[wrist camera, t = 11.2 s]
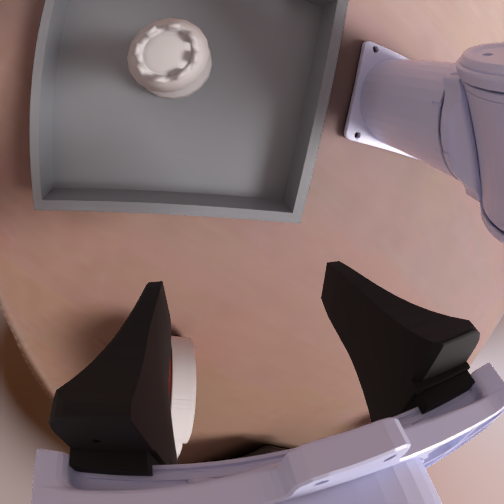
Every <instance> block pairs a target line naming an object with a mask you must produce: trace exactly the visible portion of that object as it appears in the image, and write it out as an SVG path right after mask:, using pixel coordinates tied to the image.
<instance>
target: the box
mask: <svg viewBox="0 0 504 504" xmlns="http://www.w3.org/2000/svg"><path fill="white" fill-rule="evenodd" d="M347 5H348V0H45V4H44V8H43V13H42V17H41V22H40V27H39V32H38V38H37V44H36V50H35V57H34V65H33V74H32V85H31V100H30V166H31V181H32V192H33V202H34V210H63V211H100V212H128V213H151V214H171V215H189V216H206V217H222V218H237V219H251V220H264V221H277V222H289V223H300V222H301V218H302V214H303V210H304V206H305V202H306V198H307V194H308V190H309V186H310V182H311V178H312V174H313V169H314V165H315V161H316V157H317V152H318V148H319V144H320V139H321V135H322V131H323V126H324V122H325V117H326V113H327V108H328V103H329V99H330V94H331V89H332V84H333V79H334V75H335V70H336V65H337V60H338V54H339V49H340V44H341V39H342V33H343V28H344V22H345V17H346V11H347ZM166 18H177V19H184V20H187V21H189V22H191V23H192V24H194V25H196V26H197V27H199V28H200V30H201V31H202V33H203V34H204V36H205V37H206V38H207V42H208V48H209V49H210V51H211V58H212V64H213V65H212V68H211V72H210V76H209V78H208V80H207V81H206V82H205V83H204V85H203V86H202V87H201V89H199V90H198V91H196V92H194V93H193V94H191V95H190V96H188V97H183V98H179V99H174V100H173V99H167V98H160V97H158V96H156V95H155V94H153V93H151V92H150V91H148V90H147V89H146V88H145V87H143V86H142V85H140V84H138V83H137V81H136V80H135V79H134V77H133V76H132V74H131V73H130V72H129V66H128V60H127V56H128V52H129V48H130V44H131V42H132V41H133V39H134V38H135V37H136V35H137V34H138V33H139V31H140V30H141V29H143V28H144V27H146V26H148V25H149V24H151V23H152V22H154V21H157V20H162V19H166Z"/></svg>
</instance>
